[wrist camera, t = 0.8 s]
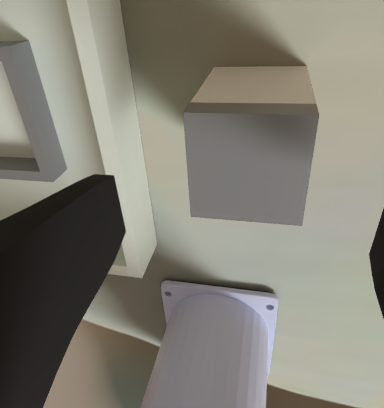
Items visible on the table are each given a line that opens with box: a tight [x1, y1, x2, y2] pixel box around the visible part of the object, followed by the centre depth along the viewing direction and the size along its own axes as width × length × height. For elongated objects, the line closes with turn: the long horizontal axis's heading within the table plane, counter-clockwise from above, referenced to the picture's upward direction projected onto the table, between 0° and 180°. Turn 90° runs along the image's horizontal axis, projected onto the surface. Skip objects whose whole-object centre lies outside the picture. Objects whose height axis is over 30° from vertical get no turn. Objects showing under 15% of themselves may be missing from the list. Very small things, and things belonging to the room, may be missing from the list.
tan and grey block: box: [183, 66, 319, 226], centre depth 14 cm, size 4×4×6 cm
